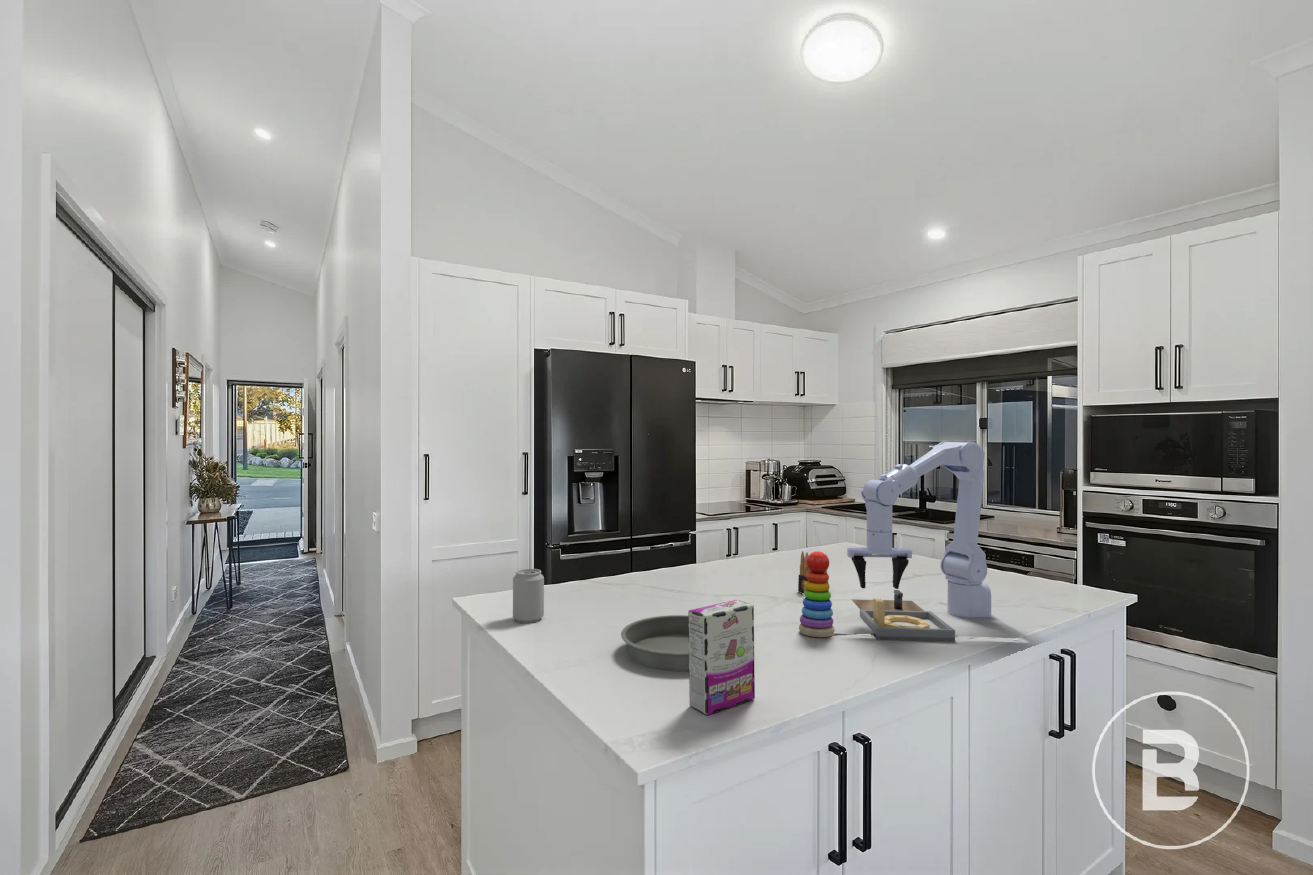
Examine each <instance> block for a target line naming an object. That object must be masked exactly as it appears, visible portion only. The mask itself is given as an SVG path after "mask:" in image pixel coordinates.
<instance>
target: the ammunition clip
mask: <svg viewBox="0 0 1313 875" xmlns="http://www.w3.org/2000/svg"><path fill="white" fill-rule="evenodd" d="M805 552H806V553H805ZM805 552H804V551H803V550H802V551H801V553H800V563H799V574H798V578H797V580H798V582H797V588H798V589H797V592H798V591H799V592H801V593H800V594H802V593H804V591H805V590H806V588H805V583H806V582H807V581H809V580H808V579H807V573H809V572H811V570H810V569H809V568H808V566H807V558H808V556H809V553H808V551H805ZM825 573H827V574H828V569H827V570H826V571H825ZM827 583H828V584H829V580H828V581H827ZM828 591H829V592H830V590H828ZM799 592H798V593H799Z"/></svg>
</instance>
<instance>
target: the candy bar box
mask: <svg viewBox="0 0 1313 875" xmlns="http://www.w3.org/2000/svg"><path fill="white" fill-rule="evenodd" d="M754 606H755V605H754V604H750V603H748V602H745V601H741V600H739V599H734V600H729V601H724V602H720V603H715V604H711V605H707V606H702V607H698V608H694V609H688V611H687V612H688V614H687V616H688V618H689V671H688V672H689V674H688V676H689V677H688V678H689V680H688V682H689V685H688V686H689V687H688V688H689V691H688V692H689V707H691V708H692V709H694V710H695V711H698V712H700V713H702V714H703V715H706V716H710V715H713V714H716V713H719V712H721V711H724V710H727V709H730V708H733V707H736V706H738V705H741V704H744V703H746V702H749V701H752V700H755V698H756V694H755V693H756V692H755V691H756V690H755V685H756V684H755V678H756V677H755V608H754Z"/></svg>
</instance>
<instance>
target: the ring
mask: <svg viewBox="0 0 1313 875" xmlns="http://www.w3.org/2000/svg"><path fill="white" fill-rule="evenodd" d="M873 600H874V604H873V617H872V619H873V620H874V621H875V622H876V623H877V625H878V626H879V627H894V628H930V626H931V625H930V624H929V623H928V622H927V621H926V620H925V619H919V618H915V617H911V616H907V615H888V616H885V602H884V601H883V600H884V599H882V598H881V597H880V598H879V597H878V598H876V597H875V598H874V597H873ZM893 622H899V623H901V622H903V623H909V624H913V625H901V624H898V623H893ZM914 624H915V625H914Z"/></svg>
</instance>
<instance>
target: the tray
mask: <svg viewBox="0 0 1313 875" xmlns="http://www.w3.org/2000/svg"><path fill="white" fill-rule="evenodd" d="M888 615H907V616H911V617H915V618H919V619H923V620H925V619H927V620H929V621H930V623H933V624H934V625H935V626H936V627H937V628H894V627H879V626H878V625H877V623H876V622H875V621H874V620H873V610H860V609H859V616H860V618H861V619H862V620H863V621H864V623H865V624H866V625H867V626H868V628H869V629H870V630H871V631H872V632H873V633H871V635H872V636H873V637H874V639H875V640H877V641H878V640H883V641H884V640H885V641H910V642H911V641H912V642H913V641H915V642H918V641H919V642H920V641H921V642H953V643H954V642H956V630H955V629H954V628H953V627H951V626H950V625H949V624H948V623H947V622H945V621H944V620H942V619H941V618H940V617H939V616H938V615H936V614H935V613H933V611H931V610H929V611H928V610H927V611H926V610H924V611H896V610H885V616H888Z"/></svg>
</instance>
